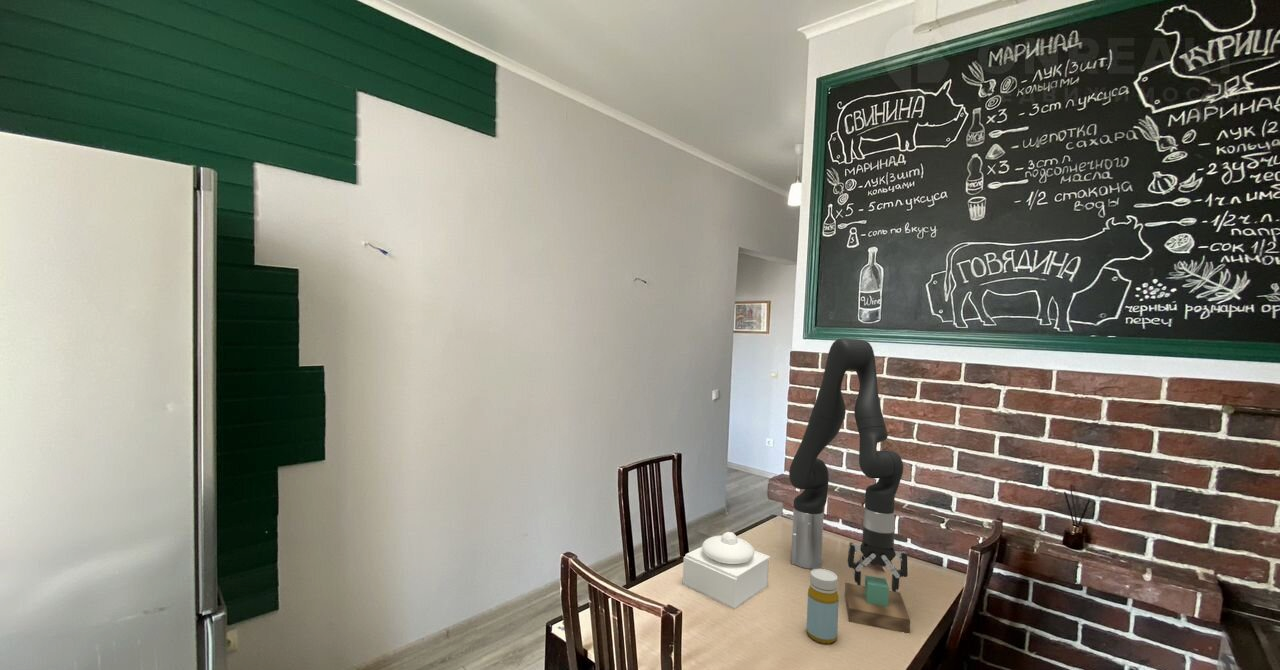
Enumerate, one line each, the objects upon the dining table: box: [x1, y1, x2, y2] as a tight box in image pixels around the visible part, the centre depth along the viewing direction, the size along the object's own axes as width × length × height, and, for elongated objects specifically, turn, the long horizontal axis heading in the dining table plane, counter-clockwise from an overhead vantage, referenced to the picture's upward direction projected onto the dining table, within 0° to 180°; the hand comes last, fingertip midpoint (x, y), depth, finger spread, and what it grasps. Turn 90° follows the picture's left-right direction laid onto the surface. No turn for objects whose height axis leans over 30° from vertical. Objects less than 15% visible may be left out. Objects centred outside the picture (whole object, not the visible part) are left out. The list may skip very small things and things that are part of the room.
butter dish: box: [682, 531, 771, 610], centre depth 145 cm, size 18×18×16 cm
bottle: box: [806, 568, 840, 645], centre depth 122 cm, size 7×7×15 cm
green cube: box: [864, 575, 890, 607], centre depth 133 cm, size 5×5×5 cm
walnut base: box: [844, 582, 911, 634], centre depth 133 cm, size 14×14×4 cm
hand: (876, 587), depth 133 cm, fingers open, 8 cm apart
